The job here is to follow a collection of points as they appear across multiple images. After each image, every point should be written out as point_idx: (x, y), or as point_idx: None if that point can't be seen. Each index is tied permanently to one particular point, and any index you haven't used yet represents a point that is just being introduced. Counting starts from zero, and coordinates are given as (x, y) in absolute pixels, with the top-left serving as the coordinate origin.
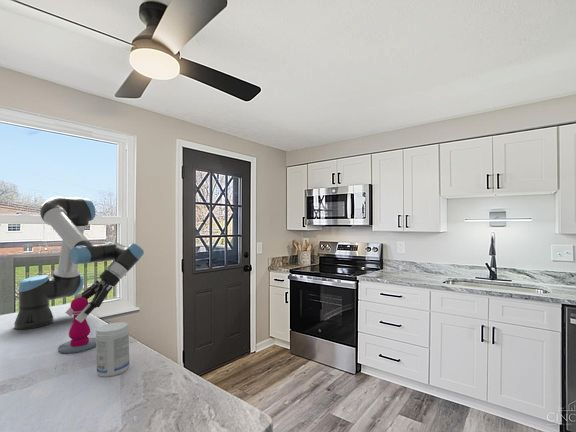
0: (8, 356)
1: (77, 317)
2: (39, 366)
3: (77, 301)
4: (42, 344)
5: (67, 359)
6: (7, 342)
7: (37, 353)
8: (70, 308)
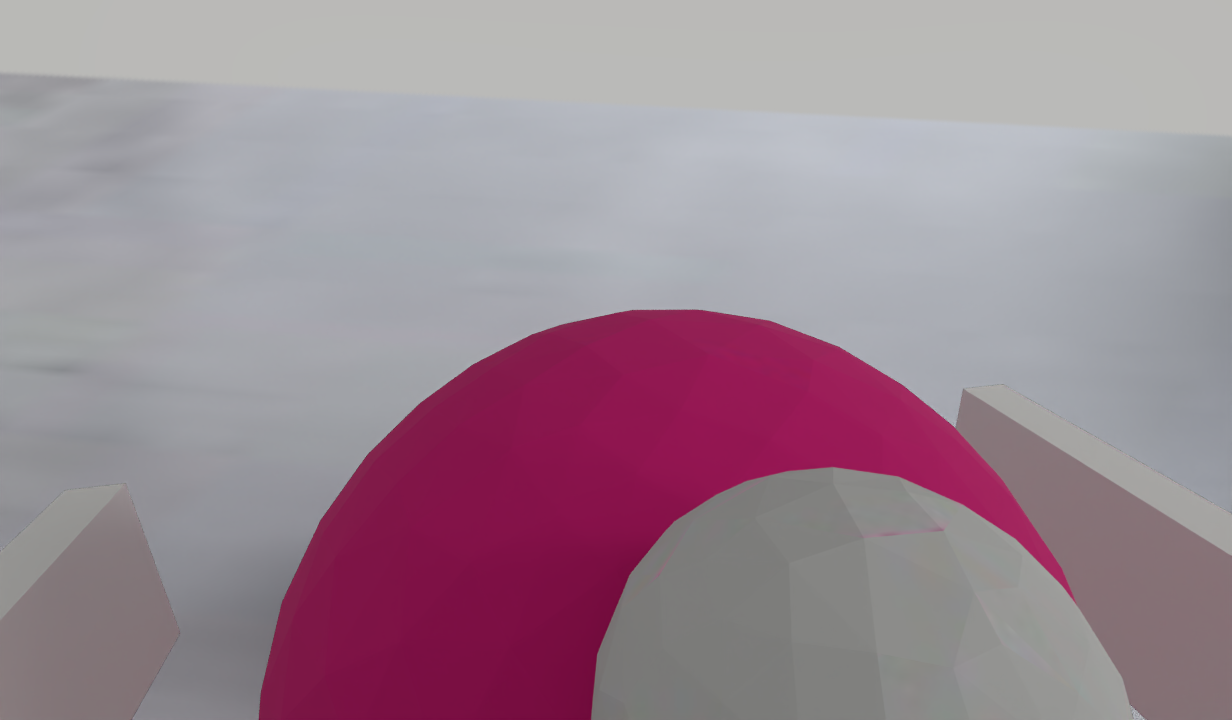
0: (735, 129)
1: (34, 535)
2: (258, 271)
3: (353, 524)
4: (908, 341)
5: (216, 483)
6: (1125, 145)
7: (651, 287)
8: (1068, 469)
